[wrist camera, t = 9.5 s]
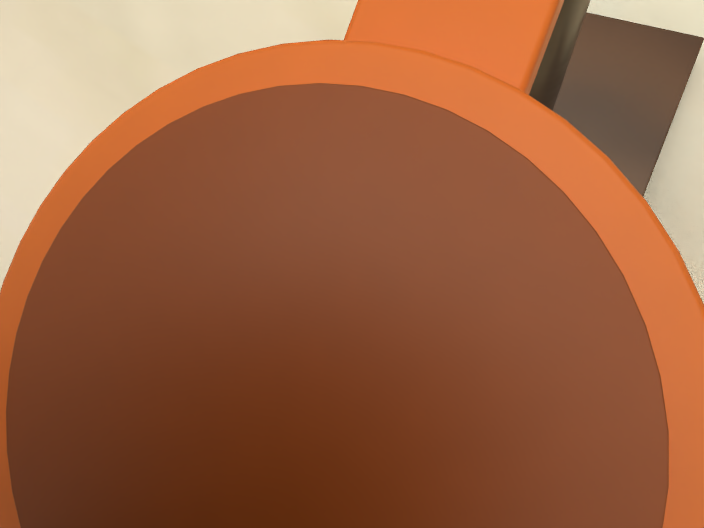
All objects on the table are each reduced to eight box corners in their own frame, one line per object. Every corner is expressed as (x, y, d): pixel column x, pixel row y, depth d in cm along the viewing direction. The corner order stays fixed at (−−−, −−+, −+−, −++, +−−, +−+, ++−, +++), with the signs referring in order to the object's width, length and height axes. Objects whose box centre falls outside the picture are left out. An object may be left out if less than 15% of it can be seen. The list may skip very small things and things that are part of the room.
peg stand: (612, 255, 20) (948, 135, 5) (394, 183, 22) (216, -36, 8) (688, 56, 20) (1256, -630, 5) (460, 5, 22) (407, -570, 7)
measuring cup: (497, 464, 15) (538, 1075, 3) (316, 383, 17) (-117, 588, 5) (656, 46, 15) (1350, -1001, 3) (457, 2, 17) (381, -807, 5)
